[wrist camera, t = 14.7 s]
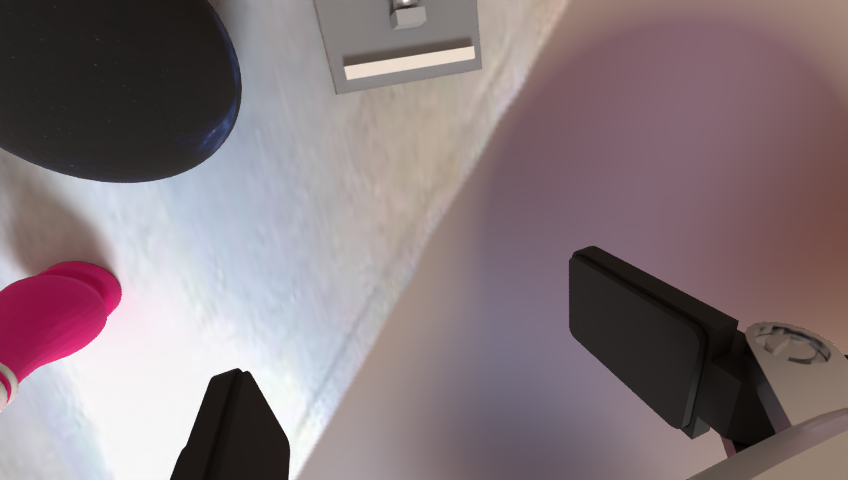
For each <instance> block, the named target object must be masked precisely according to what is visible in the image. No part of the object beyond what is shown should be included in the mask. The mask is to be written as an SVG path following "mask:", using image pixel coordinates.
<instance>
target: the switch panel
mask: <svg viewBox="0 0 848 480" xmlns="http://www.w3.org/2000/svg"><path fill="white" fill-rule="evenodd" d="M417 1H418V6H417V7H415V8H409V9H401V10H394V6H393V0H313V3H314V7H315V11H316V15H317V19H318V23H319V27H320V31H321V35H322V39H323V43H324V47H325V52H326V56H327V60H328V64H329V68H330V72H331V76H332V80H333V84H334V88H335V92H336V95H338V94H344V93H349V92H355V91H361V90H366V89H372V88H378V87H384V86H389V85H395V84H401V83H406V82H412V81H418V80H424V79H429V78H435V77H441V76H447V75H452V74H458V73H464V72H469V71H475V70H480V69H482V62H481V49H480V37H479V24H478V11H477V0H417Z"/></svg>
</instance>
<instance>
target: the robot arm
mask: <svg viewBox="0 0 848 480" xmlns="http://www.w3.org/2000/svg"><path fill="white" fill-rule="evenodd" d="M738 322H739V321H738V320H736V319H734V318H732V317H730V316H728V315H726V314H725V313H723V312H721V311H718V310H717V309H715V308H713V307H711V306H709V305H707V304H705V303H703V302H702V301H699V300H698V299H696V298H694V297H692V296H690V295H688V294H686V293H684V292H682V291H680V290H678V289H677V288H675V287H673V286H671V285H669V284H667V283H665V282H663V281H661V280H659V279H657V278H656V277H654V276H652V275H650V274H648V273H646V272H644V271H642V270H640V269H638V268H636V267H634V266H632V265H631V264H629V263H627V262H624V261H623V260H621V259H619V258H617V257H615V256H613V255H611V254H610V253H608V252H606V251H604V250H602V249H600V248H598V247H595V246H589V247H586V248H584V249H581V250H578V251H576V252H574V253H573V255H572V258H571V259H570V260H569V328H570V331H571V333H572V335H573V337H574V338H575V339H576V340H577V341H578V342H580V343H581V344H582V345H583V346H584V347H585V348H586V349H587V350H588V351H589V352H590V353H591V354H593V355H594V356H595V357H596V358H597V359H598V360H599V361H600V362H601V363H602V364H603V365H605V366H606V367H607V368H608V369H609V370H610V371H611V372H612V373H613V374H614V375H615V376H617V377H618V378H619V379H620V380H621V381H622V382H623V383H624V384H625V385H627V386H628V387H629V388H630V389H631V390H632V391H633V392H634V393H635V394H636V395H637V396H638V397H640V398H641V399H642V400H643V401H644V402H645V403H646V404H647V405H648V406H649V407H650V408H652V409H653V410H654V411H655V412H656V413H657V414H658V415H659V416H660V417H661V418H663V419H664V420H665V421H666V422H667V423H668V424H669V425H671V426H672V427H674V428H676V429H681V430H682V431H683V432H684V433H685V434H686V435H687V436H688V437H690V438H691V439H694V438H696V437H698V436H700V435H702V434H704V433H706V432H708V431H709V430H710V427H712V428H713V429H714V430H715V431H716V432H717V433H719V434H720V437H721V439H722V443H723V445H724V449H725V452H726V454H727V459H725V460H723V461H721V462H719V463H718V464H715V465H713V466H712V467H710V468H708V469H706V470H704V471H702V472H700V473H698V474H696V475H694V476H692V477H690V478H689V479H687V480H848V355H843V353H841V351H840V350H839V349H838V348H837V347H836V346H835V345H834V344H833V343H832V342H831V341H829V340H827V339H826V338H824V337H822V336H820V335H819V334H817V333H815V332H812V331H810V330H807V329H805V328H802V327H799V326H795V325H792V324H787V323H781V322H759V323H754V324H752V325H750V326H749V327H747V329H746V331H745V334H744V333H743V332H741V331H739V330H737V326H738ZM289 462H290V446H289V441H288V438H287V436H286V435H285V433H284V431H283V429H282V427H281V426H280V424H279V422H278V420H277V419H276V417H275V415H274V413H273V412H272V410H271V408H270V406H269V405H268V403H267V401H266V399H265V397H264V396H263V394H262V392H261V390H260V389H259V387H258V385H257V383H256V382H255V380H254V378H253V376H252V375H251V373H250V372H249V371H245V372H242V371H241V370H240V369H239V368H236V369H233V370H230V371H227V372H224V373H221V374H219V375H216V376H213V377H212V378H211V380H210V382H209V384H208V387H207V390H206V393H205V395H204V398H203V401H202V404H201V406H200V409H199V412H198V415H197V417H196V420H195V423H194V426H193V428H192V431H191V434H190V437H189V439H188V442H187V445H186V446H185V447H184V448H183V449H182V451H181V453H180V455H179V457H178V459H177V462H176V465H175V467H174V470H173V473H172V475H171V478H170V480H288V477H289Z"/></svg>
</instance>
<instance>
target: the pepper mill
mask: <svg viewBox="0 0 848 480" xmlns="http://www.w3.org/2000/svg"><path fill="white" fill-rule="evenodd" d="M121 295H122V294H121V288H120V285H119V284H118V282H117V280H116V279H115V278H114V277H113V276H112V275H111V274H110V273H109V272H107V271H106V270H104V269H103V268H100V267H98V266H96V265H93V264H89V263H84V262H64V263H60V264H57V265H54V266H52V267H50V268H48V269H47V270H45V271H44V272H42V273H40V274H39V275H37V276H33V277H28V278H25V279H22V280H19V281H16V282H14V283H12V284H10V285H9V286H7V287H6V288H4V289H3V290H2V291H0V413H1V412H2V410H3V409H4V408H5V407H6V406H7V405H8V404H10V403H11V402H12V401H13V400H14V398H15V397H16V395H17V392H18V384H19V383H20V382H21V381H22V380H23V379H24V378H25V377H26V376H28V375H29V374H30V373H31V372H33V371H34V370H35V369H37V368H38V367H40V366H42V365H45V364H47V363H50V362H53V361H56V360H58V359H61V358H64V357H66V356H69V355H71V354H73V353H75V352H77V351H78V350H80V349H82V348H83V347H85V346H86V345H88V344H89V343H90V342H91V341H92V340H93V339H95V338H96V337H97V336H98V335H99V334H100V332H101V331H102V329H103V328H104V326H105V324H106V320H107V317H108V316H109V315H110V314H111V313H112V312H113V311H114V309H115V308H116V307H117V306H118V304H119V302H120V300H121Z"/></svg>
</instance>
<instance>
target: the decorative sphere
mask: <svg viewBox="0 0 848 480" xmlns="http://www.w3.org/2000/svg"><path fill="white" fill-rule="evenodd" d="M241 93H242V84H241V73H240V67H239V63H238V59H237V56H236V52H235V49H234V47H233V44H232V41H231V39H230V37H229V35H228V32H227V30H226V28H225V27H224V25H223V23H222V21H221V19H220V18H219V16H218V15H217V13H216V12H215V10H214V9H213V7H212V6H211V4H210V3H209V2H208V0H0V147H1V148H3V149H4V150H6V151H8V152H10V153H12V154H14V155H16V156H18V157H20V158H22V159H24V160H26V161H28V162H31V163H33V164H36V165H38V166H41V167H44V168H46V169H49V170H52V171H55V172H58V173H62V174H65V175H69V176H73V177H77V178H82V179H88V180H95V181H101V182H113V183H138V182H148V181H154V180H160V179H164V178H168V177H172V176H175V175H178V174H180V173H183V172H185V171H188V170H190V169H192V168H194V167H196V166H197V165H199V164H201V163H202V162H204V161H205V160H206V159H208V158H209V157H210V156H211V155H213V154H214V153H215V152H216V151H217V150H218V149H219V148H220V147H221V145H222V144H223V143H224V142H225V140H226V139H227V138H228V136H229V134H230V133H231V131H232V129H233V127H234V125H235V122H236V120H237V116H238V113H239V109H240V104H241Z"/></svg>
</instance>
